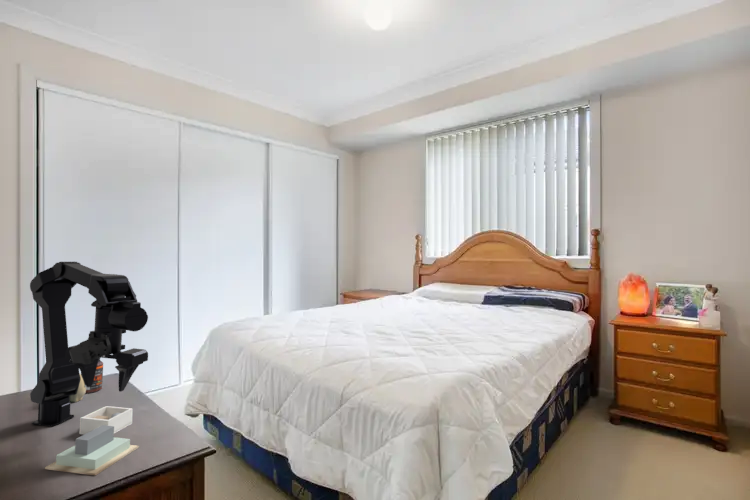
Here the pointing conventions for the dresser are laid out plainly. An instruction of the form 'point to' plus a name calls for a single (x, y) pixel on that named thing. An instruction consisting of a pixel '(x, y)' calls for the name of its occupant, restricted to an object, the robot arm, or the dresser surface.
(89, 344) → the robot arm
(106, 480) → the dresser surface
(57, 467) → the cork mat
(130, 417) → the storage box
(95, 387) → the supplement bottle
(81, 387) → the ghost figurine
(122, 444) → the lid
